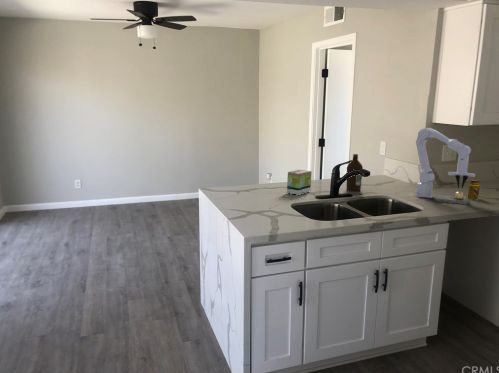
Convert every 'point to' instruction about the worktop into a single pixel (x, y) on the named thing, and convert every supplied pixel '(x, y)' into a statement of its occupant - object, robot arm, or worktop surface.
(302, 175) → the tea box
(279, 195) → the worktop surface
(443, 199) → the jig
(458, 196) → the bushing
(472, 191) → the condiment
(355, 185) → the olive oil
